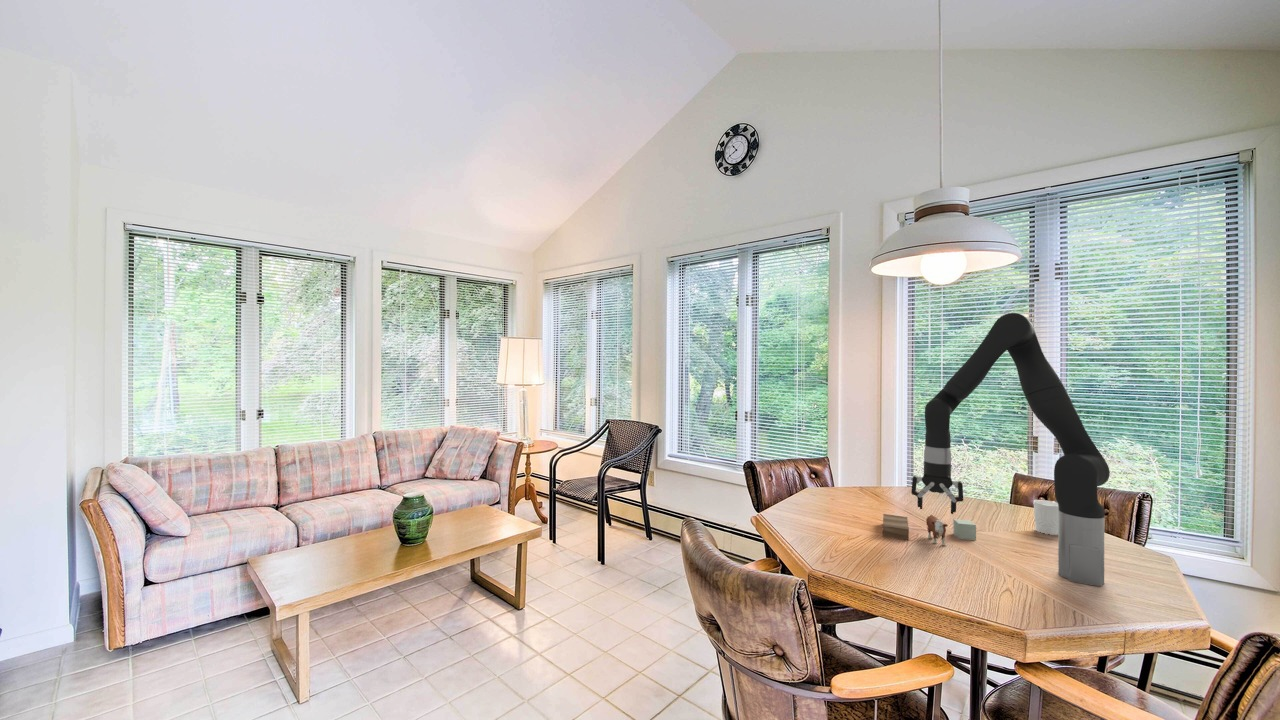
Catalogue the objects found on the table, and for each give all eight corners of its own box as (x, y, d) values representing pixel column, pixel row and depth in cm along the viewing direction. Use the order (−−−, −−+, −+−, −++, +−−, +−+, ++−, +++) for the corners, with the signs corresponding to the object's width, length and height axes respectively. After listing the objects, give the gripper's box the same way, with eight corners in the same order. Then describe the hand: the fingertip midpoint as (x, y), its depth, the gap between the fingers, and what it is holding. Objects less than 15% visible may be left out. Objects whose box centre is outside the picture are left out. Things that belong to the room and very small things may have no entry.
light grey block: (1028, 530, 172) (1028, 501, 172) (1041, 527, 175) (1041, 498, 175) (1055, 537, 164) (1055, 507, 165) (1068, 534, 168) (1068, 504, 168)
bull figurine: (933, 548, 153) (933, 522, 153) (924, 534, 166) (924, 510, 166) (949, 550, 152) (949, 523, 152) (939, 536, 164) (939, 511, 164)
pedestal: (908, 541, 160) (908, 529, 160) (882, 538, 163) (882, 525, 163) (907, 528, 173) (907, 517, 173) (883, 525, 177) (883, 513, 177)
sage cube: (976, 540, 161) (976, 524, 161) (958, 538, 163) (958, 523, 163) (970, 535, 166) (970, 520, 166) (953, 533, 167) (953, 519, 167)
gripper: (911, 460, 160) (910, 510, 160) (964, 465, 152) (963, 518, 152) (912, 456, 166) (911, 504, 166) (963, 461, 159) (962, 511, 159)
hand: (936, 511), depth 159 cm, fingers open, 8 cm apart
